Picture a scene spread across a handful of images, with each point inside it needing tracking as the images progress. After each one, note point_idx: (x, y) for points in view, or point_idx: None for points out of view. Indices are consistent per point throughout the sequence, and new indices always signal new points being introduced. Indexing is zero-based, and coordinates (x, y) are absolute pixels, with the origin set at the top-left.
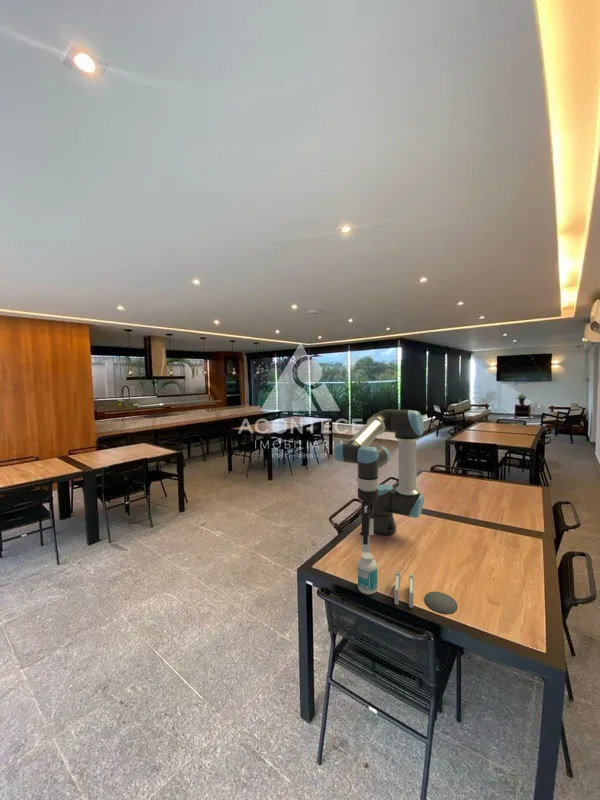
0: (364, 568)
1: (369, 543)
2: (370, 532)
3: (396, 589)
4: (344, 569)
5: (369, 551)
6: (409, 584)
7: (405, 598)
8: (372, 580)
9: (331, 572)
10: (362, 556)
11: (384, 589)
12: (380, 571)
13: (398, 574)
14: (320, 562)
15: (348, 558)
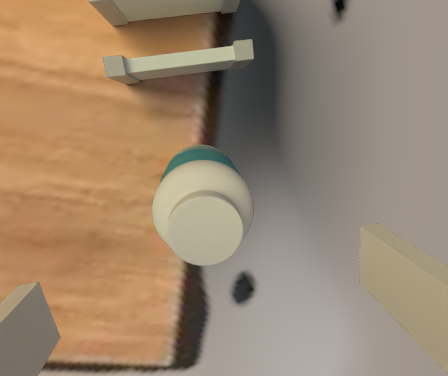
0: (253, 212)
1: (433, 270)
2: (33, 324)
3: (250, 49)
4: (131, 279)
5: (373, 227)
6: (122, 15)
7: (190, 33)
8: (232, 164)
9: (169, 307)
10: (227, 253)
11: (174, 121)
12: (68, 161)
13: (122, 61)
14: (134, 355)
15: (54, 291)
